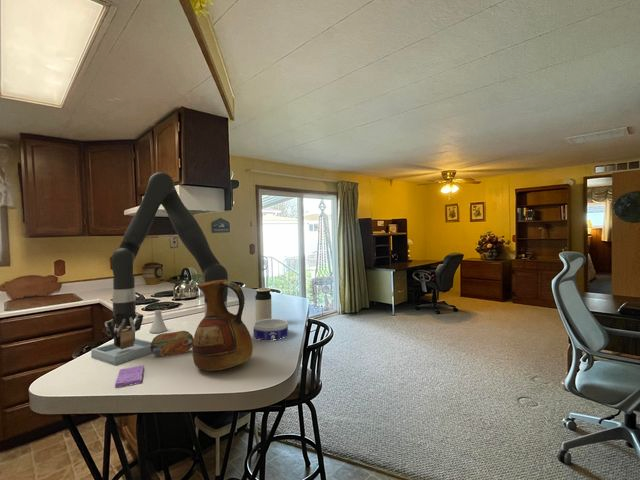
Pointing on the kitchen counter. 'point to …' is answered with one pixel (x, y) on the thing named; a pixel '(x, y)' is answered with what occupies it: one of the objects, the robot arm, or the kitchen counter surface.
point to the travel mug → (263, 304)
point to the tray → (121, 352)
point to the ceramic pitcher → (221, 330)
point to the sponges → (129, 376)
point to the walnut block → (126, 339)
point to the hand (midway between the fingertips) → (124, 344)
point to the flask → (158, 323)
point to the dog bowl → (270, 329)
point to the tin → (171, 343)
